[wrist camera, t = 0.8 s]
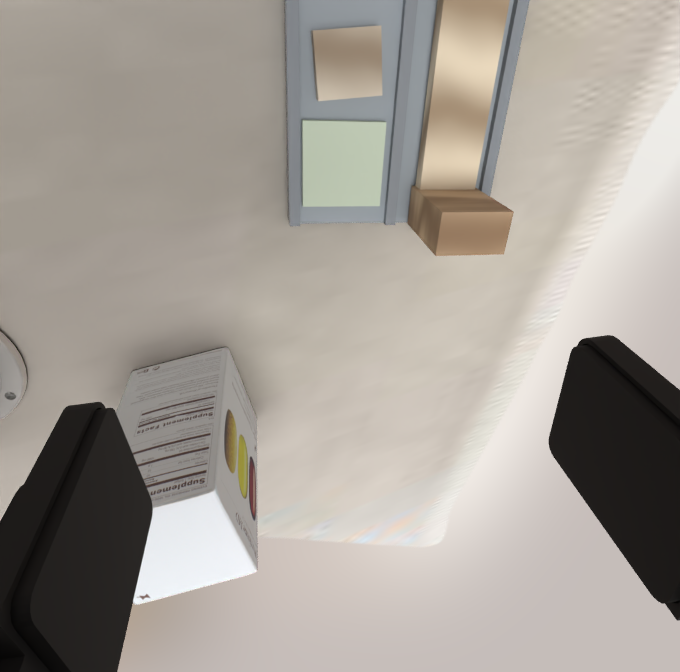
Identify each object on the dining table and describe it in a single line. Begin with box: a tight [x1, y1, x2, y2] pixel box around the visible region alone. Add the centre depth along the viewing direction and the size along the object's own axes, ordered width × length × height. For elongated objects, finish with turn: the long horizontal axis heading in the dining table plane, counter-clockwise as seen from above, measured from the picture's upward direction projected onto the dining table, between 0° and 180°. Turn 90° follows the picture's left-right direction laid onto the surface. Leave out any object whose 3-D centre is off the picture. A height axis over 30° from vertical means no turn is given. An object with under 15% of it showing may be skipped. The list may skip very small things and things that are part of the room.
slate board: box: [285, 0, 529, 226], centre depth 31 cm, size 26×16×1 cm, turn 178°
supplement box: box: [116, 347, 258, 605], centre depth 38 cm, size 10×9×17 cm
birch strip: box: [407, 0, 514, 256], centre depth 29 cm, size 25×5×7 cm, turn 178°
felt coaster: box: [302, 119, 387, 207], centre depth 35 cm, size 6×6×1 cm
